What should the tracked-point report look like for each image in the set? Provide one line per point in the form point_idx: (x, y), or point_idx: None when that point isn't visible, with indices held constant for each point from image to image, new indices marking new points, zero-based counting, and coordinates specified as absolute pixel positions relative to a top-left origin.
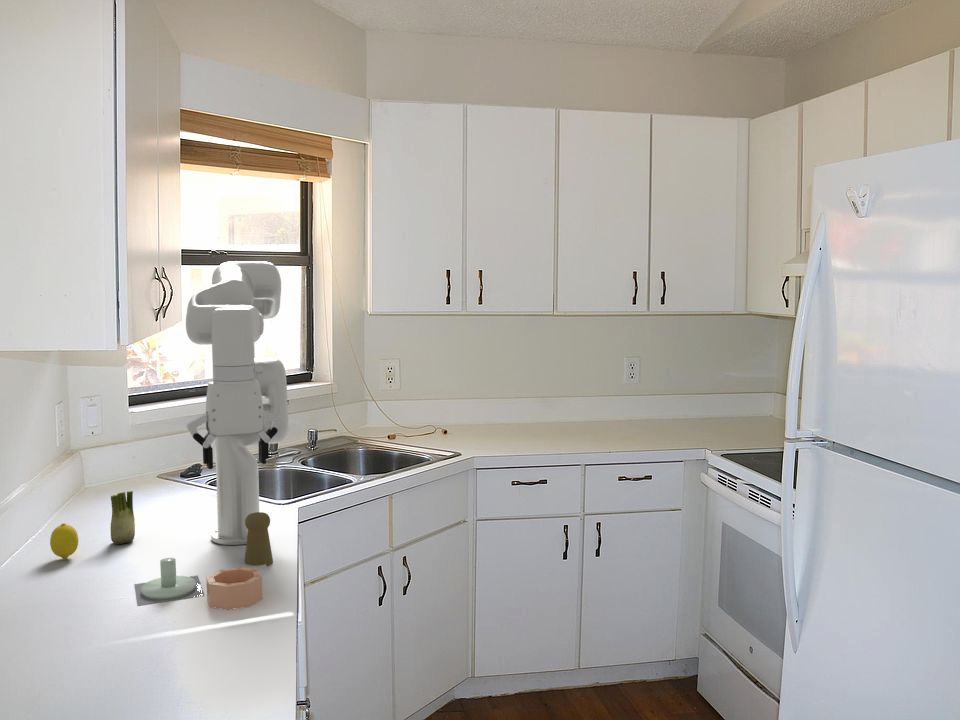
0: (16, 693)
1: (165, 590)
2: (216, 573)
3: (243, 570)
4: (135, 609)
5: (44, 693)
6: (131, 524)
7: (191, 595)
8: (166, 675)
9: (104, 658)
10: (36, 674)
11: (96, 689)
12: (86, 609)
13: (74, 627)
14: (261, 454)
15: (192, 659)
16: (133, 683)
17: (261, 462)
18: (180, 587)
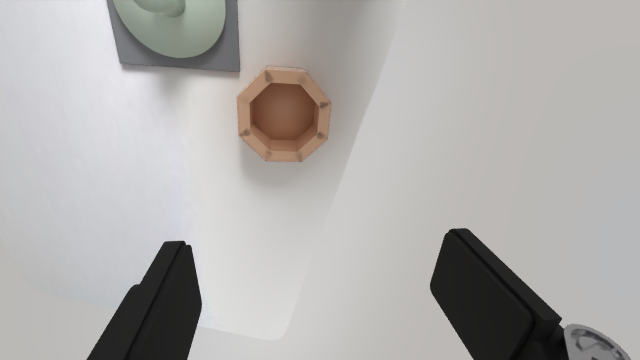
0: (22, 262)
1: (165, 32)
2: (256, 87)
3: (306, 91)
4: (119, 62)
5: (58, 270)
6: None
7: (216, 58)
8: None
9: (107, 218)
10: (27, 229)
11: (116, 278)
12: (14, 13)
13: (23, 97)
14: (455, 317)
15: (213, 252)
16: None
17: (433, 280)
18: (194, 30)
